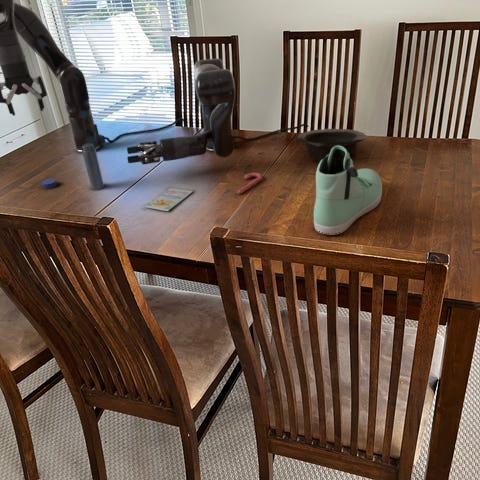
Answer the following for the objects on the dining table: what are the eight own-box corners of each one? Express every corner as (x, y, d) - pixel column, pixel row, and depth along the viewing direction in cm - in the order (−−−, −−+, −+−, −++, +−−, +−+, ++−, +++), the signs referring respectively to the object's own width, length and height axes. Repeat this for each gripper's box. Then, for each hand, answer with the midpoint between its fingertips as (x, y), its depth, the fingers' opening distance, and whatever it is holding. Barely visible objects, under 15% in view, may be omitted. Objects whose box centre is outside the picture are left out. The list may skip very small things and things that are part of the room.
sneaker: (389, 187, 148) (396, 123, 138) (356, 242, 123) (361, 168, 112) (346, 181, 154) (350, 119, 144) (306, 232, 129) (307, 161, 118)
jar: (89, 187, 165) (78, 145, 157) (100, 183, 167) (90, 141, 159) (95, 191, 162) (84, 148, 154) (106, 186, 164) (96, 144, 156)
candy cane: (225, 192, 154) (224, 187, 153) (251, 174, 164) (250, 170, 163) (240, 195, 151) (240, 191, 150) (265, 177, 161) (265, 173, 160)
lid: (60, 184, 169) (58, 179, 168) (49, 189, 166) (48, 185, 165) (50, 182, 171) (49, 177, 170) (40, 187, 168) (38, 183, 167)
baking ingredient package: (143, 206, 148) (170, 186, 159) (143, 207, 148) (170, 188, 159) (167, 210, 144) (192, 190, 156) (167, 211, 144) (193, 191, 156)
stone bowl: (324, 173, 160) (323, 146, 156) (284, 156, 180) (283, 132, 176) (382, 155, 169) (382, 129, 165) (338, 140, 189) (337, 117, 185)
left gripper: (-14, 65, 141) (4, 119, 150) (37, 58, 145) (51, 111, 154) (-13, 61, 147) (5, 113, 156) (36, 55, 151) (50, 106, 160)
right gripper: (171, 131, 168) (124, 137, 165) (175, 145, 156) (125, 152, 153) (174, 151, 172) (129, 157, 169) (179, 166, 160) (130, 173, 157)
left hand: (28, 112), depth 155 cm, fingers open, 8 cm apart
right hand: (127, 155), depth 161 cm, fingers open, 8 cm apart
